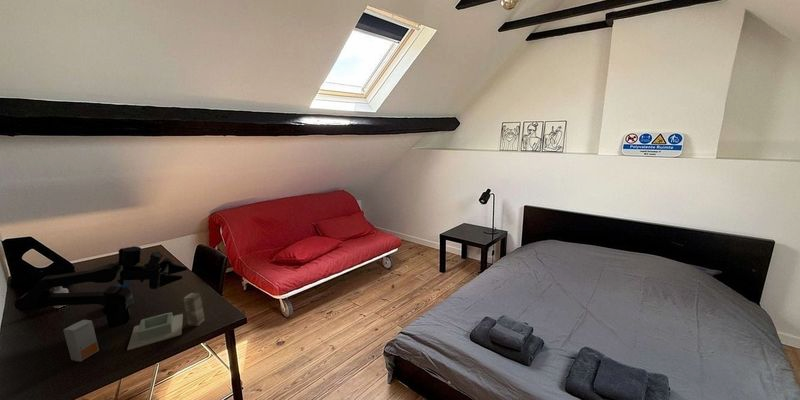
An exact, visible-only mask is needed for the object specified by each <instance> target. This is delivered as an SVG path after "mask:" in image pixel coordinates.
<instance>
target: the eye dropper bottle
mask: <svg viewBox="0 0 800 400" xmlns="http://www.w3.org/2000/svg"><path fill="white" fill-rule="evenodd" d="M52 292H53V293H70V291H69V289H68V288H66V287H63V286H59V287H53V291H52ZM65 306H66V305H65ZM61 307H63V306H53V309H54V308H61Z"/></svg>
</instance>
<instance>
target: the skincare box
mask: <svg viewBox="0 0 800 400" xmlns="http://www.w3.org/2000/svg"><path fill="white" fill-rule="evenodd" d="M63 334H64V338H65V341H66V345H67V349H68V352H69V356H70V361H73V360H74V362H83V361H84V360H86V359H88V358H89V357H91V356H93V355H94V354H95V353H97V352H99V351H100V348H99V343H98V340H97V334H96V332H95V327H94V322H93V320H88V319H82V320H80V321H77V322H75V323H72V324H71V325H69V326H68V327H66V328H63Z"/></svg>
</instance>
